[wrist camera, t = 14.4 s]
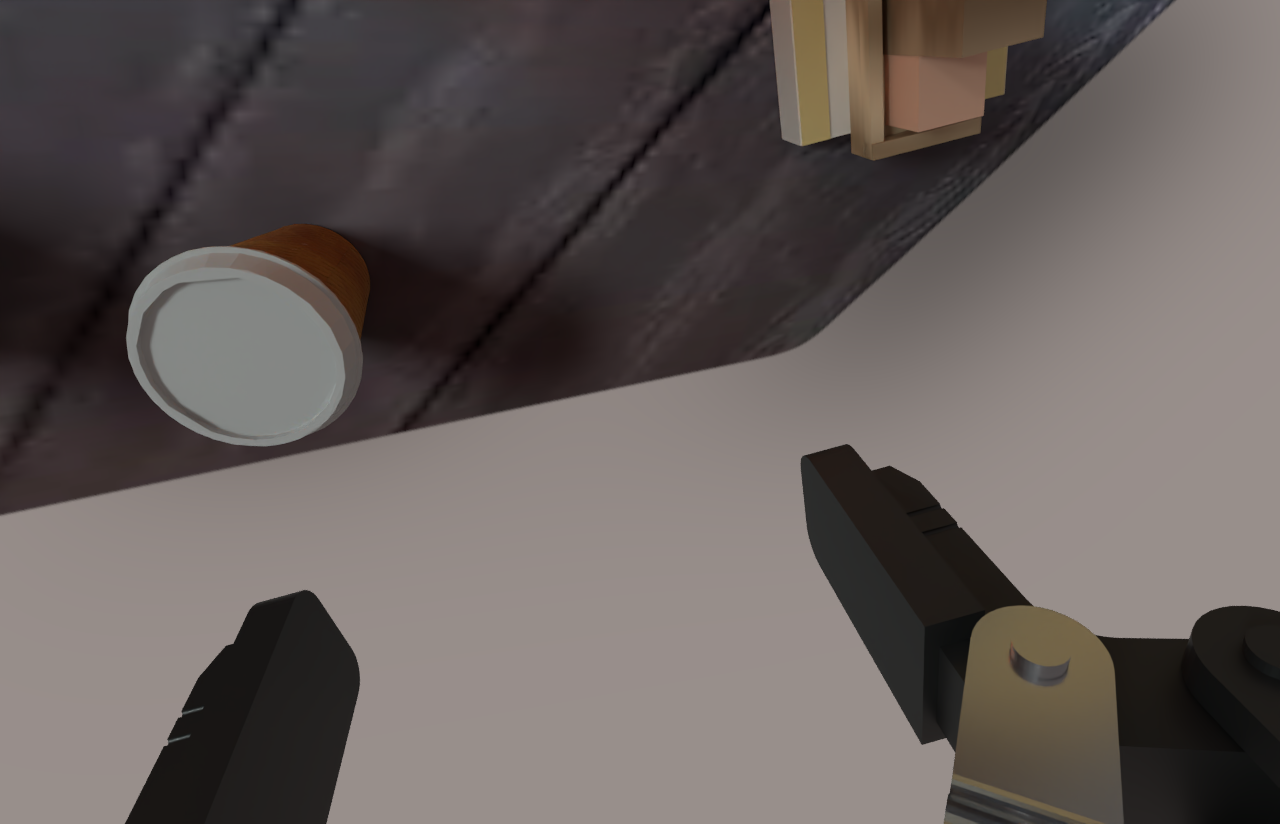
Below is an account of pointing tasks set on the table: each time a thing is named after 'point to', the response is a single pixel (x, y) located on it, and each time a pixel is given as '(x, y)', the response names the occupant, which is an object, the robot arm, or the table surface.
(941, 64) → the block
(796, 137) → the strip
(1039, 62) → the table surface
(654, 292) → the table surface
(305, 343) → the disposable coffee cup
